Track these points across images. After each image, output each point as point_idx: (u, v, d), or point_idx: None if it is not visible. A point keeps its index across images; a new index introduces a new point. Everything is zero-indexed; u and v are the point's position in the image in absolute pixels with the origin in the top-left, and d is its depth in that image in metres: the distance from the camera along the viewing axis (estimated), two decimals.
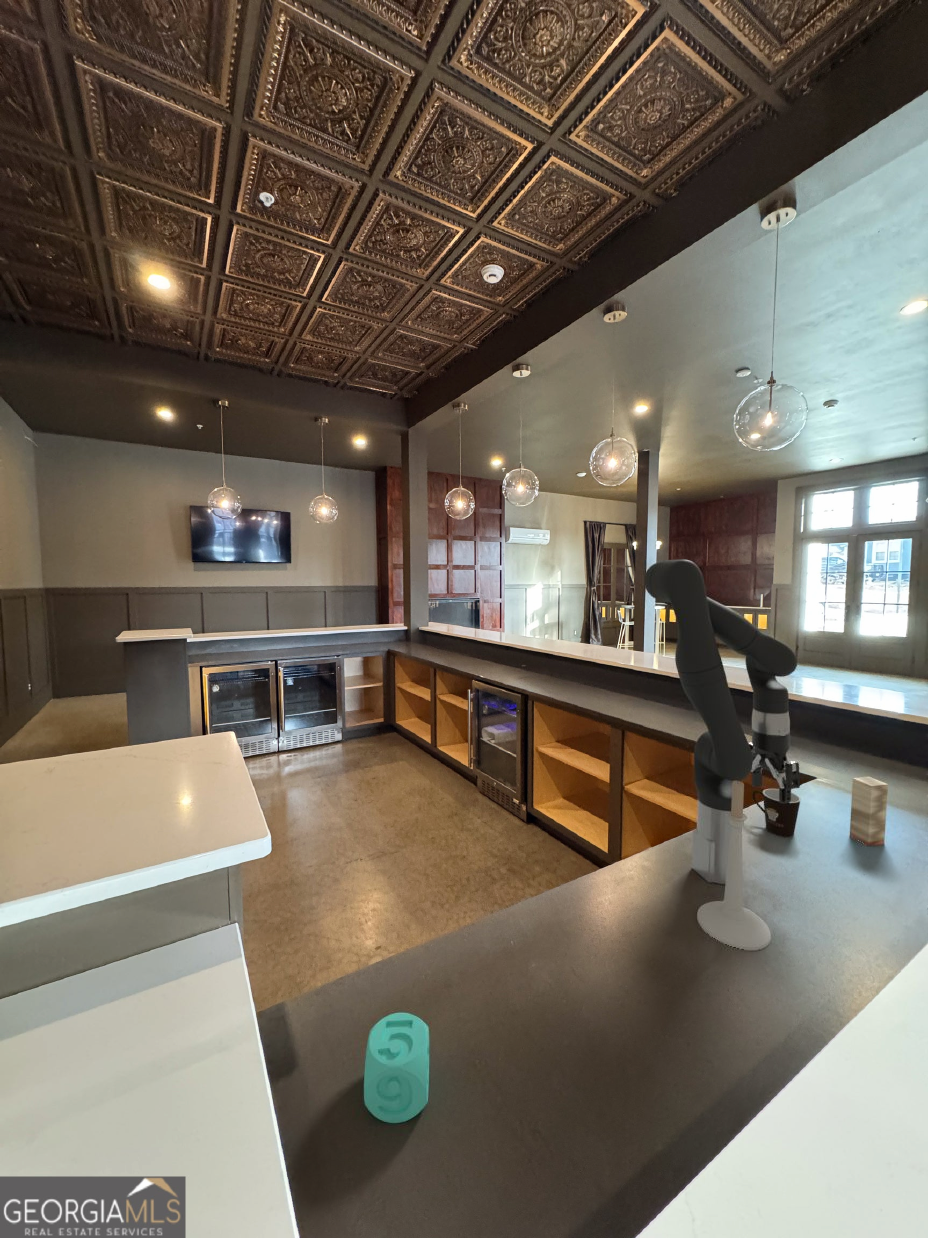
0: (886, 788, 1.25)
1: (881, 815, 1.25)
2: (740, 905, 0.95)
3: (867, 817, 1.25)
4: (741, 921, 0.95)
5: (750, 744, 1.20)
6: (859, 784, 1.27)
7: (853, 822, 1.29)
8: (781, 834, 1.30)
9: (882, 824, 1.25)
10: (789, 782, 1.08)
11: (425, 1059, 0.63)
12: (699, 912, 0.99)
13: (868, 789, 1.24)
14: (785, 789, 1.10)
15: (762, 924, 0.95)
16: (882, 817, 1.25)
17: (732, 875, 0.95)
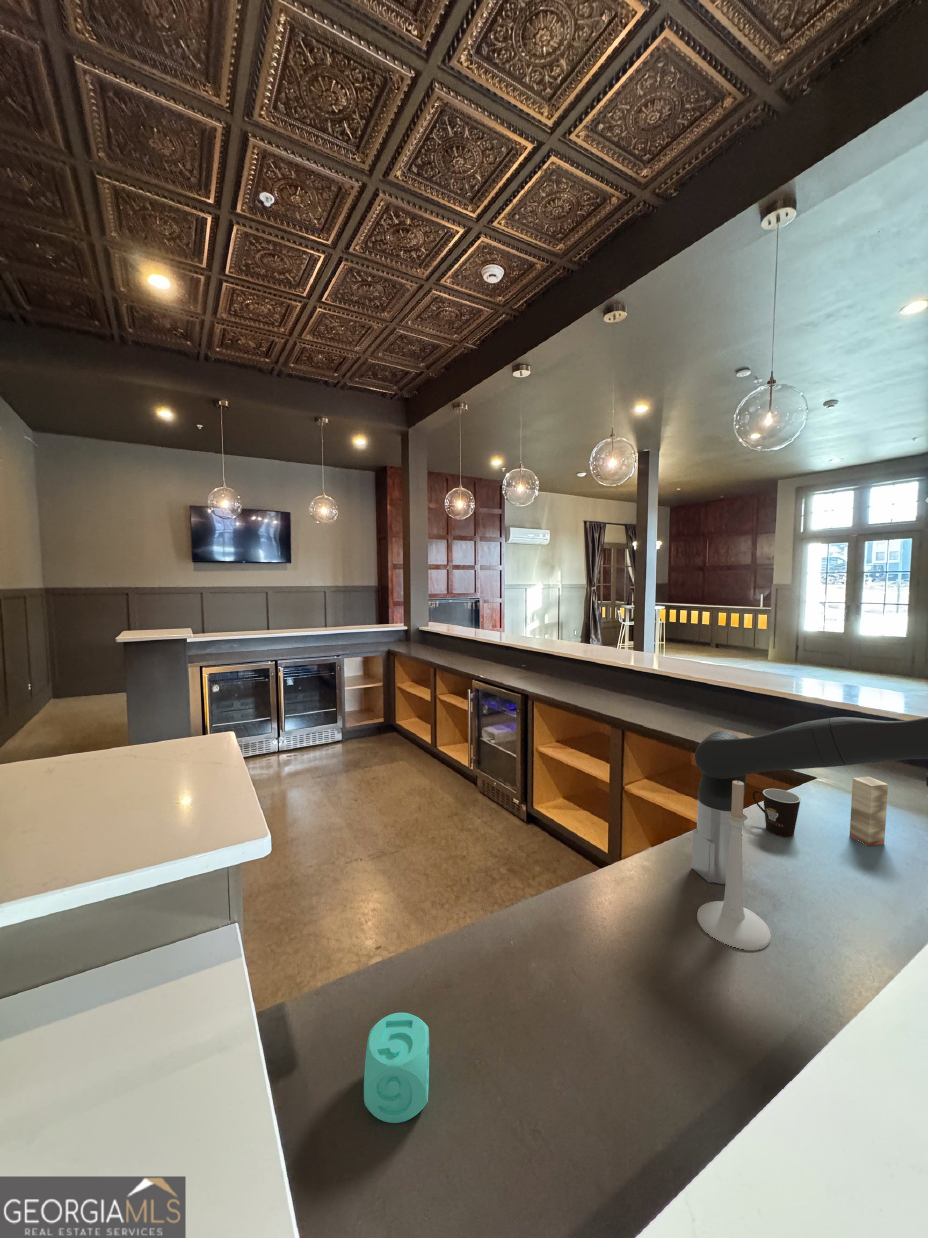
0: (886, 788, 1.25)
1: (881, 815, 1.25)
2: (740, 905, 0.95)
3: (867, 817, 1.25)
4: (741, 921, 0.95)
5: None
6: (859, 784, 1.27)
7: (853, 822, 1.29)
8: (781, 834, 1.30)
9: (882, 824, 1.25)
10: None
11: (425, 1059, 0.63)
12: (699, 912, 0.99)
13: (868, 789, 1.24)
14: None
15: (762, 924, 0.95)
16: (882, 817, 1.25)
17: (732, 875, 0.95)
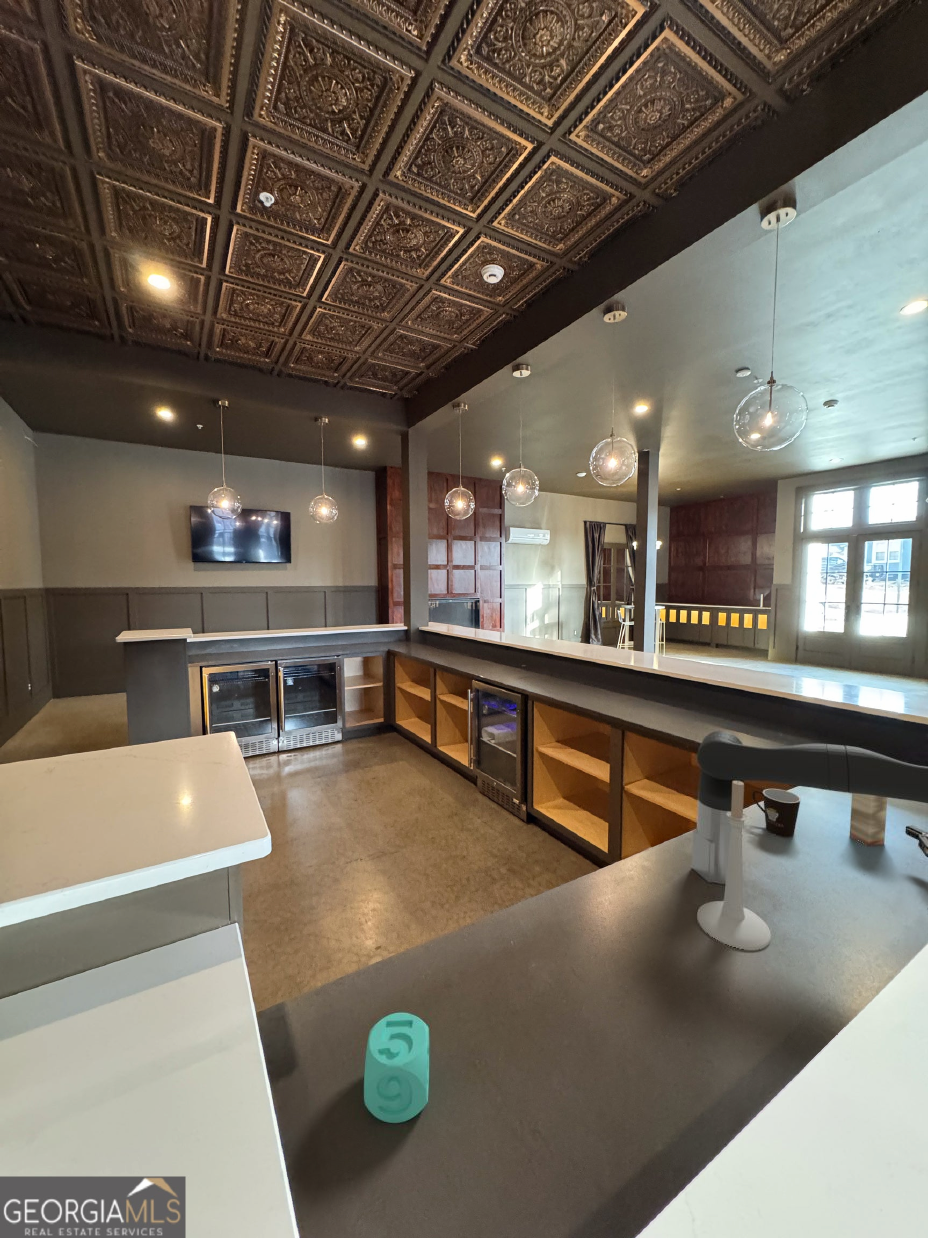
0: None
1: (881, 815, 1.25)
2: (740, 905, 0.95)
3: (867, 817, 1.25)
4: (741, 921, 0.95)
5: None
6: None
7: (853, 822, 1.29)
8: (781, 834, 1.30)
9: (882, 824, 1.25)
10: (920, 838, 1.11)
11: (425, 1059, 0.63)
12: (699, 912, 0.99)
13: None
14: (920, 835, 1.14)
15: (762, 924, 0.95)
16: (882, 817, 1.25)
17: (732, 875, 0.95)
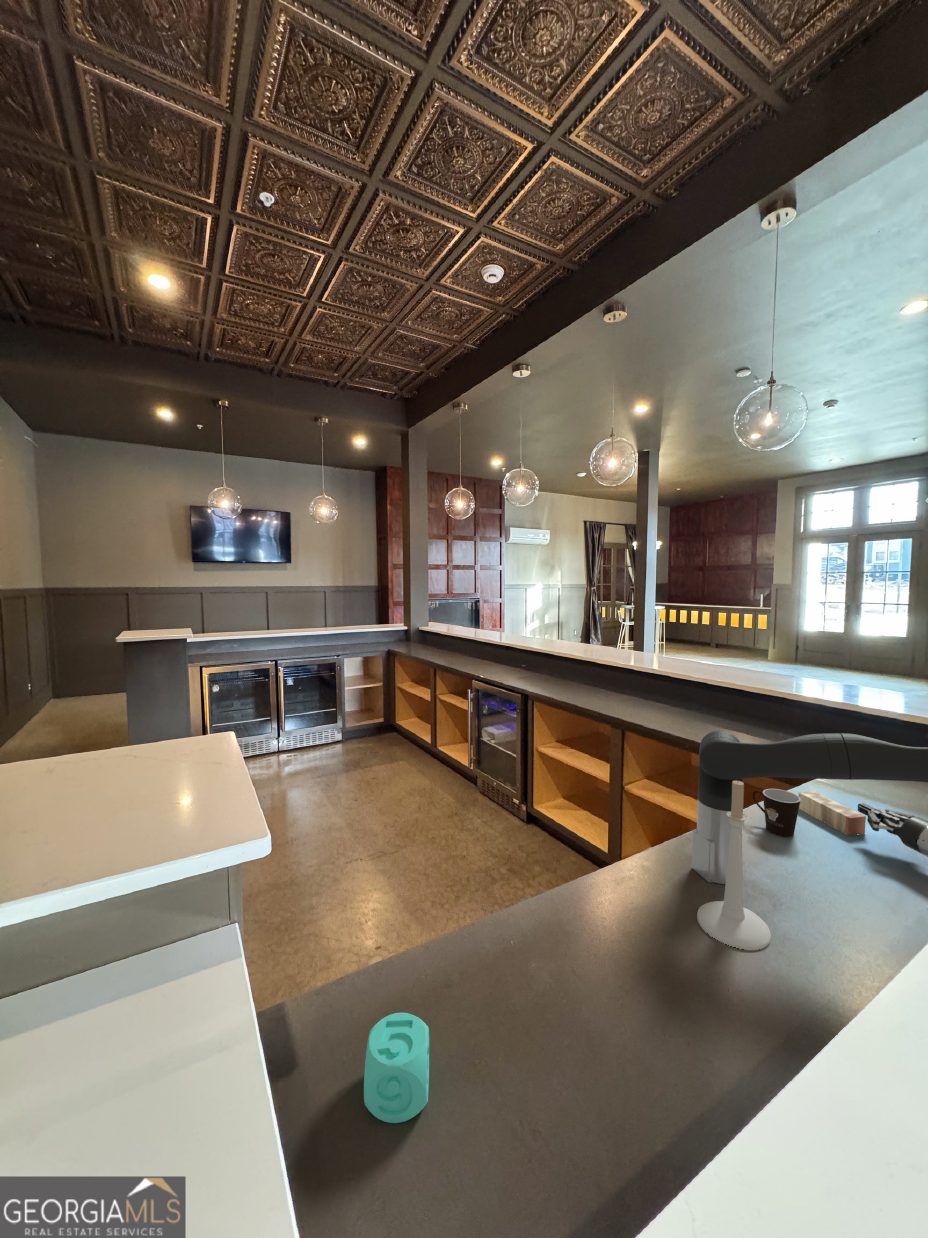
0: (814, 792, 1.45)
1: (833, 803, 1.38)
2: (740, 905, 0.95)
3: (824, 807, 1.37)
4: (741, 921, 0.95)
5: None
6: (800, 803, 1.45)
7: (834, 825, 1.34)
8: (781, 834, 1.30)
9: (843, 807, 1.36)
10: (869, 813, 1.23)
11: (425, 1059, 0.63)
12: (699, 912, 0.99)
13: (802, 796, 1.44)
14: None
15: (762, 924, 0.95)
16: (836, 804, 1.37)
17: (732, 875, 0.95)
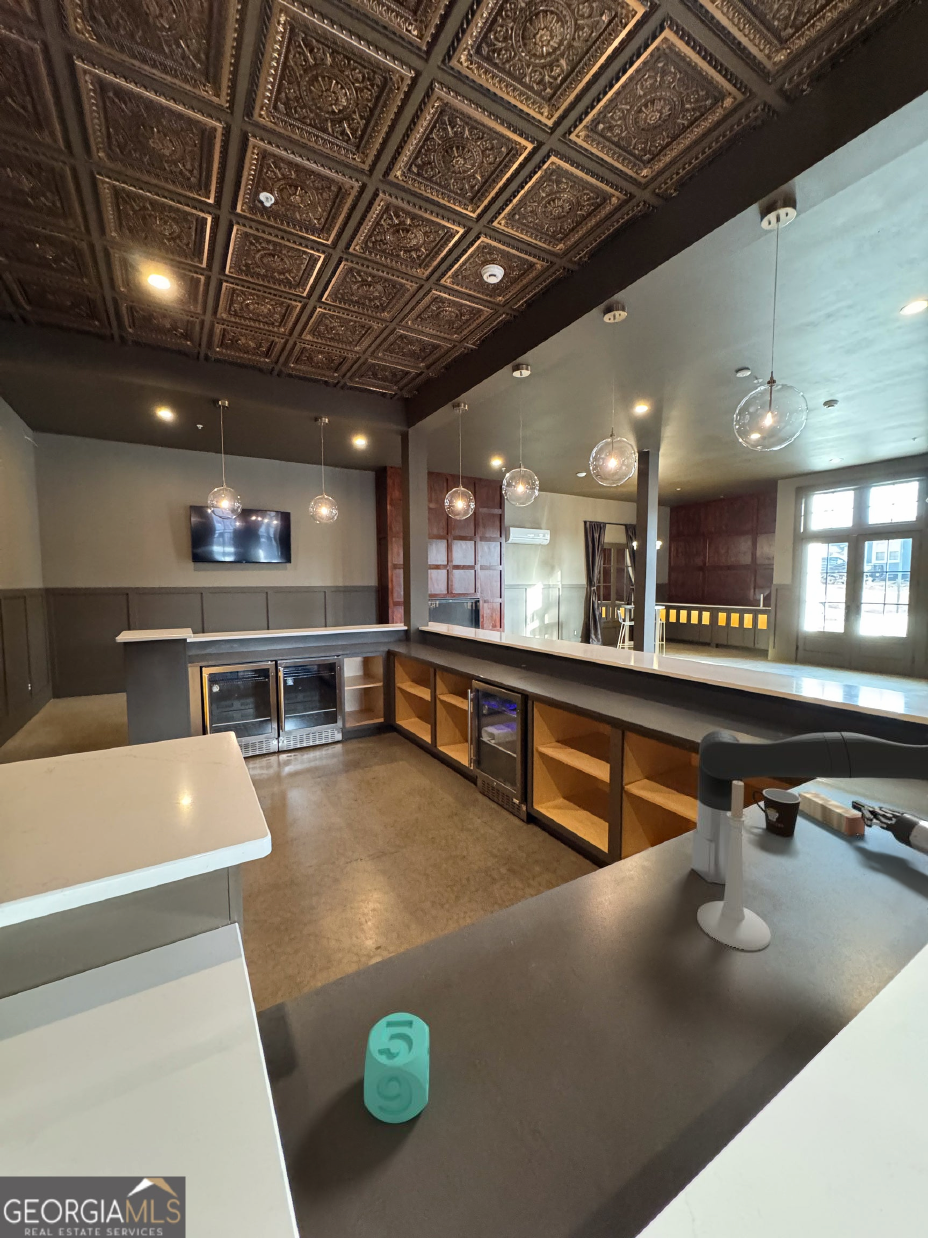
0: (814, 792, 1.45)
1: (833, 803, 1.38)
2: (740, 905, 0.95)
3: (824, 807, 1.37)
4: (741, 921, 0.95)
5: None
6: (800, 803, 1.45)
7: (834, 825, 1.34)
8: (781, 834, 1.30)
9: (843, 807, 1.36)
10: (862, 810, 1.25)
11: (425, 1059, 0.63)
12: (699, 912, 0.99)
13: (801, 796, 1.44)
14: None
15: (762, 924, 0.95)
16: (836, 804, 1.37)
17: (732, 875, 0.95)
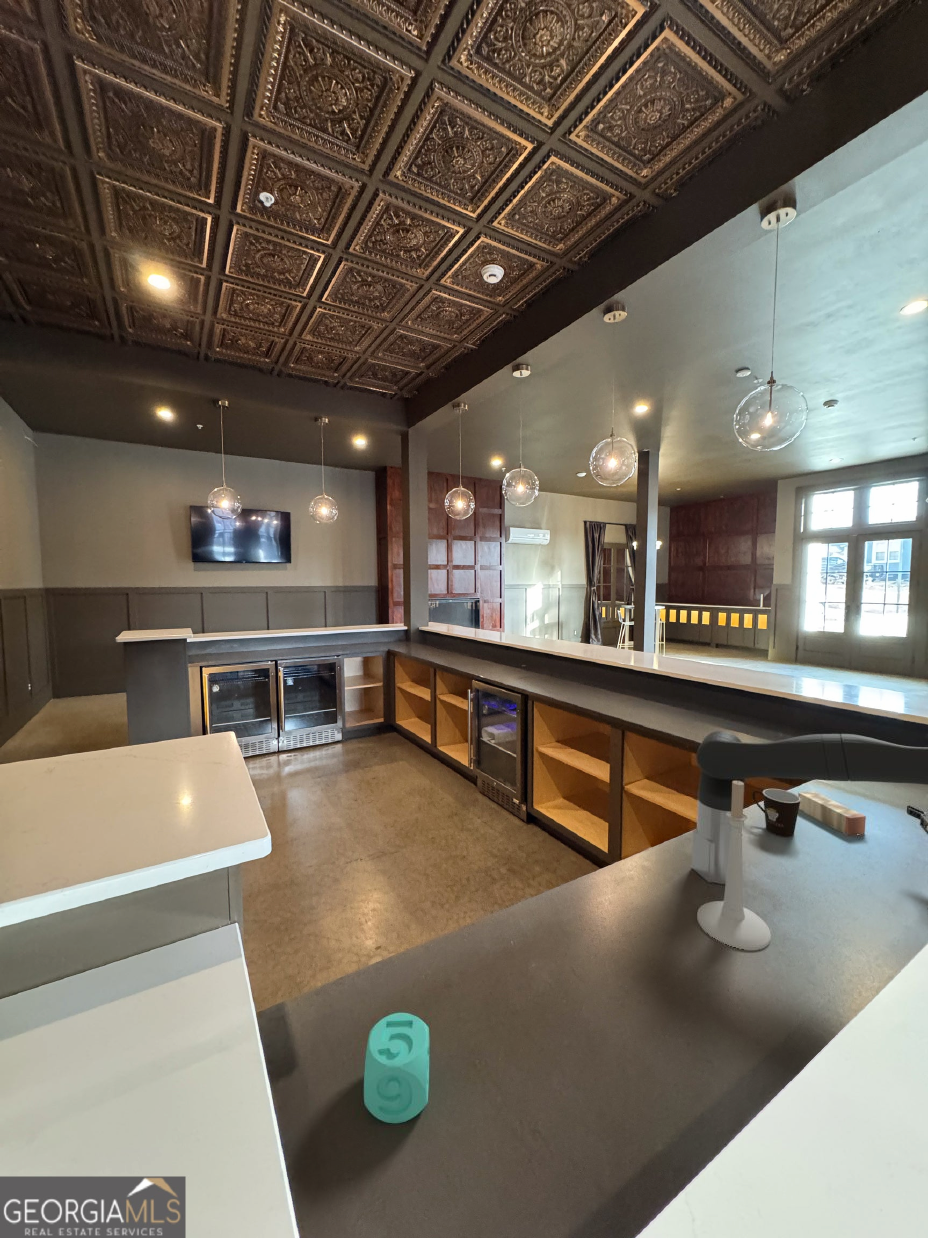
0: (814, 792, 1.45)
1: (833, 803, 1.38)
2: (740, 905, 0.95)
3: (824, 808, 1.37)
4: (741, 921, 0.95)
5: None
6: (800, 803, 1.45)
7: (834, 825, 1.34)
8: (781, 834, 1.30)
9: (843, 807, 1.36)
10: (922, 817, 1.10)
11: (425, 1059, 0.63)
12: (699, 912, 0.99)
13: (801, 796, 1.44)
14: None
15: (762, 924, 0.95)
16: (836, 804, 1.37)
17: (732, 875, 0.95)
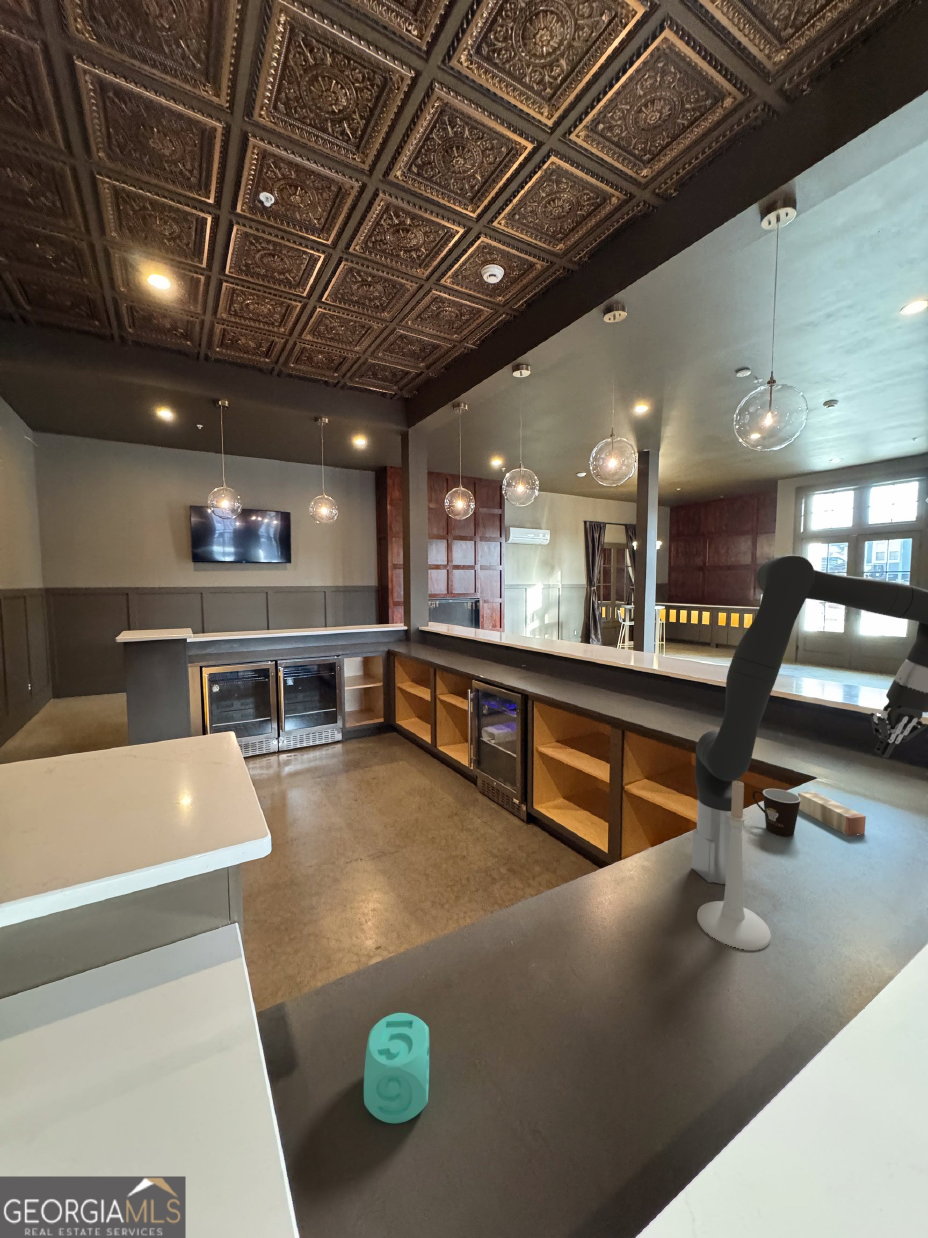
0: (814, 792, 1.45)
1: (833, 803, 1.38)
2: (740, 905, 0.95)
3: (824, 808, 1.37)
4: (741, 921, 0.95)
5: None
6: (800, 803, 1.45)
7: (834, 825, 1.34)
8: (781, 834, 1.30)
9: (843, 807, 1.36)
10: None
11: (425, 1060, 0.63)
12: (699, 912, 0.99)
13: (801, 797, 1.44)
14: None
15: (762, 924, 0.95)
16: (836, 804, 1.37)
17: (732, 875, 0.95)
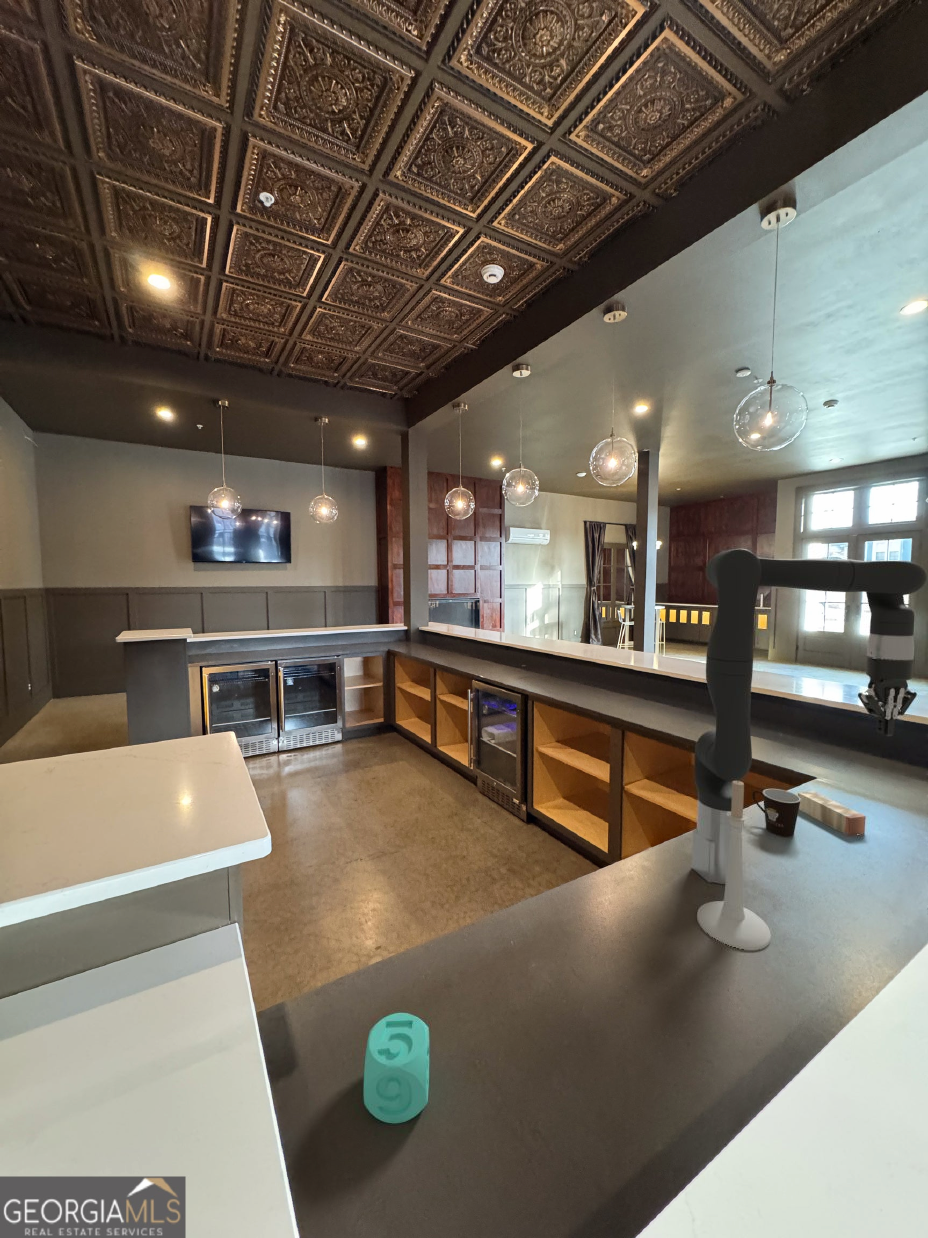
0: (813, 792, 1.45)
1: (833, 803, 1.38)
2: (740, 905, 0.95)
3: (824, 808, 1.37)
4: (741, 921, 0.95)
5: None
6: None
7: (834, 825, 1.34)
8: (781, 834, 1.30)
9: (843, 807, 1.36)
10: None
11: (425, 1059, 0.63)
12: (699, 912, 0.99)
13: (801, 797, 1.44)
14: None
15: (762, 924, 0.95)
16: (836, 804, 1.37)
17: (732, 875, 0.95)
